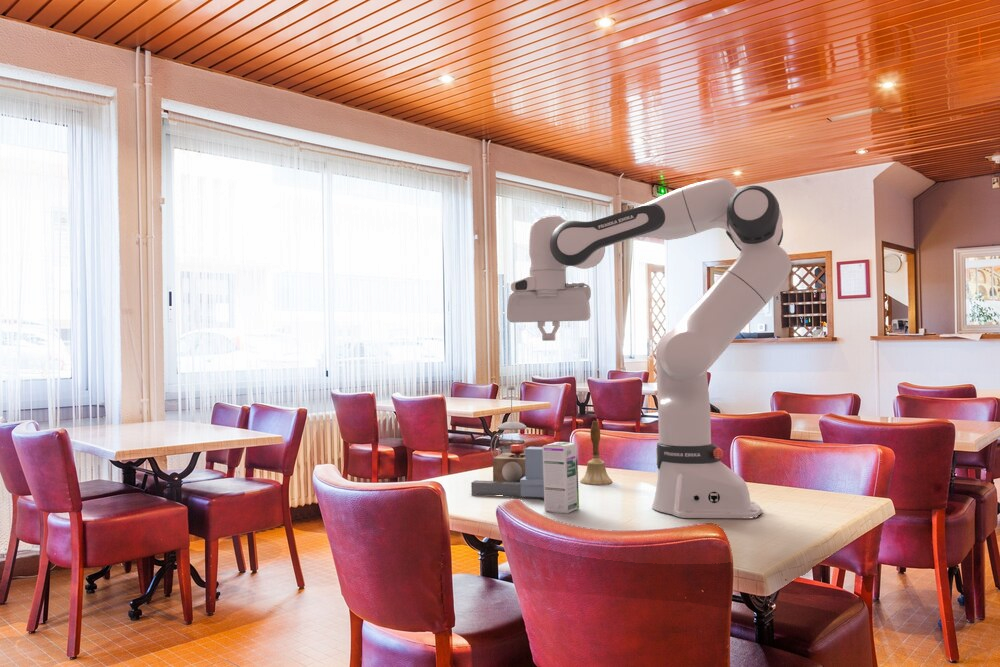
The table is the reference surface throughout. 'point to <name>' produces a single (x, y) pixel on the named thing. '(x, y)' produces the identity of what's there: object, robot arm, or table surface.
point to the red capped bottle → (517, 449)
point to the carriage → (533, 473)
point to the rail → (497, 488)
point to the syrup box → (560, 477)
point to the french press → (508, 426)
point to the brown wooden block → (508, 467)
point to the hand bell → (596, 462)
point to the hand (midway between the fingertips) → (548, 340)
